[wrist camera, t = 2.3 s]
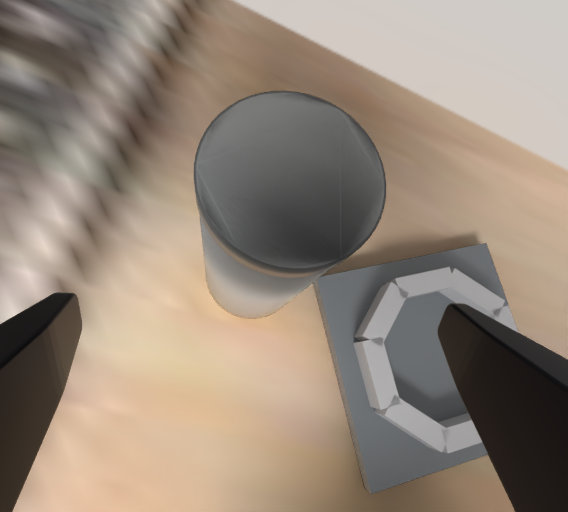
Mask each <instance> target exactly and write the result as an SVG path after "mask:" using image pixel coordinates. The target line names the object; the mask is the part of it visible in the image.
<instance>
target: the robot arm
mask: <svg viewBox="0 0 568 512" xmlns="http://www.w3.org/2000/svg"><path fill="white" fill-rule="evenodd" d="M81 331H82V319H81V313H80V307H79V302H78V297H77V295H76V294H74V293H60V292H58V293H54V294H52V295H50V296H48V297H47V298H45V299H43V300H41V301H40V302H38V303H36V304H35V305H33V306H31V307H29V308H28V309H26V310H24V311H22V312H21V313H19V314H17V315H15V316H14V317H12V318H10V319H8V320H7V321H5V322H3V323H2V324H0V512H12V511H13V509H14V507H15V504H16V502H17V500H18V497H19V495H20V493H21V490H22V488H23V486H24V483H25V481H26V479H27V476H28V474H29V472H30V469H31V467H32V465H33V462H34V460H35V458H36V456H37V453H38V451H39V449H40V446H41V444H42V442H43V439H44V437H45V435H46V432H47V430H48V428H49V425H50V423H51V421H52V418H53V416H54V414H55V411H56V409H57V407H58V405H59V402H60V400H61V397H62V395H63V392H64V389H65V386H66V383H67V379H68V376H69V372H70V369H71V365H72V362H73V359H74V355H75V352H76V348H77V345H78V342H79V338H80V335H81ZM438 338H439V341H440V344H441V346H442V349H443V352H444V355H445V358H446V360H447V363H448V366H449V369H450V372H451V374H452V377H453V380H454V382H455V385H456V388H457V390H458V392H459V394H460V397H461V399H462V401H463V403H464V405H465V407H466V409H467V411H468V413H469V415H470V418H471V420H472V422H473V424H474V426H475V428H476V430H477V432H478V434H479V436H480V439H481V441H482V443H483V445H484V447H485V449H486V451H487V453H488V455H489V457H490V459H491V462H492V464H493V466H494V468H495V470H496V472H497V474H498V476H499V478H500V480H501V482H502V485H503V487H504V489H505V491H506V493H507V495H508V497H509V499H510V501H511V503H512V505H513V508H514V510H515V512H568V360H567V359H566V358H564V357H562V356H560V355H558V354H556V353H555V352H553V351H551V350H549V349H547V348H545V347H544V346H542V345H540V344H538V343H536V342H535V341H533V340H531V339H529V338H527V337H525V336H524V335H522V334H520V333H518V332H516V331H514V330H513V329H511V328H509V327H507V326H505V325H504V324H502V323H500V322H498V321H496V320H494V319H493V318H491V317H489V316H487V315H485V314H483V313H482V312H480V311H478V310H476V309H474V308H472V307H471V306H469V305H467V304H464V303H450V304H448V305H447V307H446V309H445V311H444V314H443V316H442V319H441V321H440V324H439V326H438Z"/></svg>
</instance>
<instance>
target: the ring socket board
mask: <svg viewBox="0 0 568 512" xmlns="http://www.w3.org/2000/svg"><path fill="white" fill-rule="evenodd" d="M313 284H314V288H315V292H316V296H317V300H318V304H319V308H320V312H321V316H322V320H323V324H324V328H325V332H326V336H327V340H328V344H329V348H330V352H331V356H332V360H333V364H334V368H335V372H336V376H337V380H338V384H339V388H340V392H341V396H342V400H343V404H344V408H345V412H346V416H347V420H348V424H349V427H350V431H351V435H352V439H353V443H354V447H355V451H356V455H357V459H358V463H359V467H360V471H361V475H362V479H363V483H364V487H365V489H366V490H367V491H368V492H369V493H371V494H373V493H376V492H379V491H382V490H385V489H388V488H391V487H394V486H397V485H400V484H403V483H406V482H408V481H411V480H414V479H417V478H420V477H423V476H426V475H429V474H432V473H435V472H438V471H441V470H444V469H447V468H449V467H452V466H455V465H458V464H461V463H464V462H467V461H470V460H473V459H476V458H479V457H482V456H485V455H488V453H487V451H486V449H485V447H484V445H483V443H482V441H481V439H480V436H479V434H478V432H477V430H476V428H475V426H474V424H473V422H472V420H471V418H470V415H469V413H468V411H467V409H466V407H465V405H464V403H463V401H462V399H461V397H460V394H459V392H458V390H457V388H456V385H455V382H454V380H453V377H452V374H451V372H450V369H449V366H448V363H447V360H446V358H445V355H444V352H443V349H442V346H441V344H440V341H439V338H438V326H439V324H440V321H441V319H442V316H443V314H444V311H445V309H446V307H447V305H448V304H450V303H464V304H467V305H469V306H471V307H472V308H474V309H476V310H478V311H480V312H482V313H483V314H485V315H487V316H489V317H491V318H493V319H494V320H496V321H498V322H500V323H502V324H504V325H505V326H507V327H509V328H511V329H513V330H514V331H516V332H518V330H517V327H516V324H515V321H514V319H513V316H512V313H511V310H510V308H509V305H508V302H507V299H506V297H505V294H504V291H503V288H502V285H501V283H500V280H499V277H498V274H497V272H496V269H495V266H494V263H493V260H492V258H491V255H490V252H489V249H488V247H487V244H486V243H484V244H479V245H474V246H469V247H464V248H459V249H454V250H449V251H444V252H439V253H434V254H429V255H424V256H420V257H415V258H410V259H405V260H400V261H395V262H390V263H385V264H380V265H375V266H370V267H365V268H360V269H356V270H351V271H346V272H341V273H336V274H331V275H326V276H321V277H319V278H318V279H317V280H316V281H314V282H313Z"/></svg>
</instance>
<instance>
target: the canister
mask: <svg viewBox="0 0 568 512" xmlns="http://www.w3.org/2000/svg"><path fill="white" fill-rule="evenodd" d="M194 183H195V192H196V200H197V205H198V209H199V213H200V222H201V232H202V242H203V252H204V262H205V272H206V281H207V285H208V289H209V291H210V293H211V295H212V297H213V299H214V300H215V301H216V302H217V304H218V305H219V306H220V307H221V308H223V309H224V310H225V311H227V312H229V313H231V314H232V315H235V316H238V317H242V318H248V319H256V318H262V317H266V316H269V315H271V314H273V313H275V312H276V311H278V310H279V309H280V308H282V307H283V306H284V305H285V304H287V303H288V302H289V301H291V300H292V299H293V298H294V297H296V296H297V295H298V294H299V293H301V292H302V291H303V290H304V289H306V288H307V287H308V286H309V285H311V284H312V283H313V282H314V281H316V280H317V279H318V278H319V277H321V276H322V275H323V274H324V273H326V272H327V271H328V270H329V269H331V268H333V267H335V266H336V265H338V264H340V263H341V262H343V261H344V260H345V259H347V258H348V257H349V256H350V255H352V254H353V253H354V252H355V251H357V250H358V249H359V248H360V247H361V246H362V245H363V244H364V243H365V242H366V241H367V240H368V239H369V238H370V236H371V235H372V233H373V232H374V230H375V229H376V227H377V225H378V223H379V221H380V218H381V215H382V212H383V209H384V204H385V198H386V180H385V172H384V168H383V164H382V161H381V158H380V156H379V153H378V151H377V149H376V147H375V145H374V143H373V142H372V140H371V139H370V137H369V136H368V134H367V133H366V132H365V130H364V129H363V128H362V127H361V126H360V125H359V124H358V123H357V122H356V121H355V120H354V119H353V118H352V117H351V116H350V115H348V114H347V113H346V112H344V111H343V110H341V109H340V108H338V107H337V106H335V105H333V104H331V103H330V102H327V101H325V100H323V99H321V98H318V97H315V96H312V95H309V94H304V93H299V92H291V91H271V92H264V93H259V94H255V95H252V96H249V97H246V98H244V99H242V100H239V101H237V102H236V103H234V104H232V105H231V106H229V107H228V108H226V109H225V110H224V111H222V112H221V113H220V114H219V115H218V116H217V117H216V118H215V119H214V120H213V121H212V122H211V124H210V125H209V127H208V128H207V129H206V131H205V133H204V135H203V137H202V138H201V140H200V143H199V146H198V149H197V152H196V156H195V162H194Z"/></svg>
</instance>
